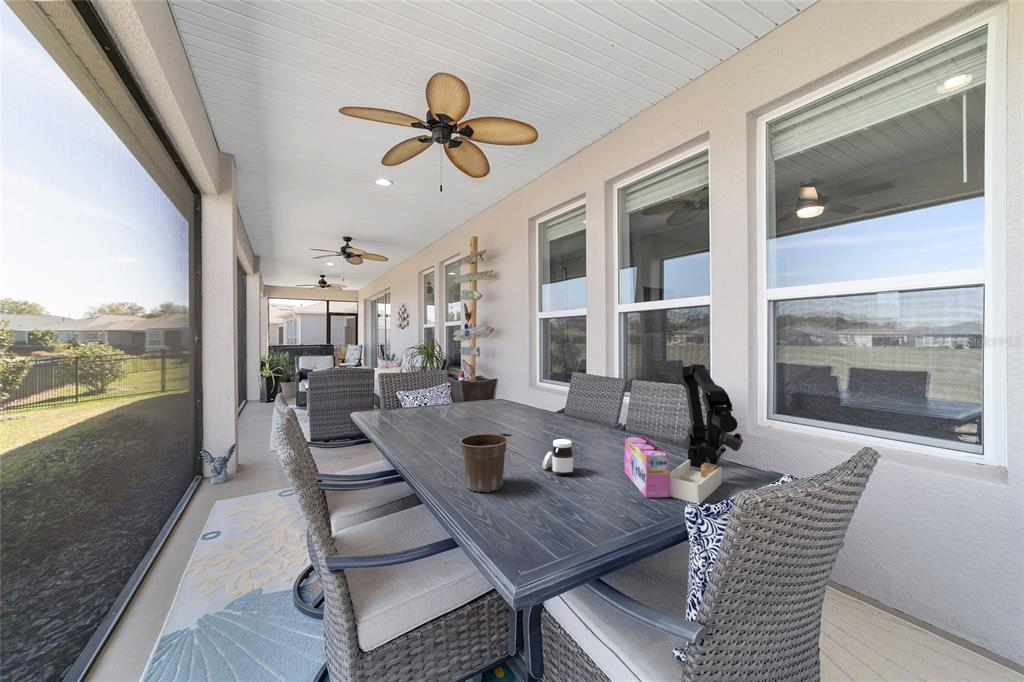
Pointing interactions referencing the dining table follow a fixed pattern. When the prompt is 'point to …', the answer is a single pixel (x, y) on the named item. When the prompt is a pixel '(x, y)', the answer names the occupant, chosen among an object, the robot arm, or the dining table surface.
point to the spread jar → (560, 457)
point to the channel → (693, 483)
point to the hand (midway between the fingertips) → (714, 469)
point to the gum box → (647, 466)
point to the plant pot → (484, 461)
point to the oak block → (707, 469)
